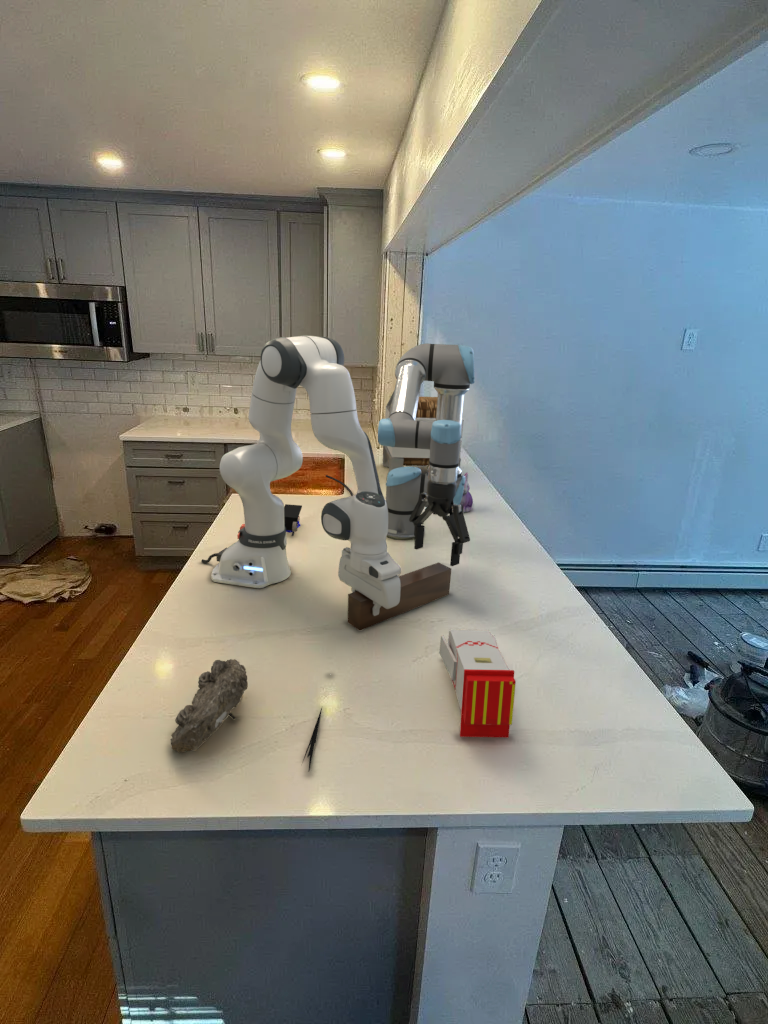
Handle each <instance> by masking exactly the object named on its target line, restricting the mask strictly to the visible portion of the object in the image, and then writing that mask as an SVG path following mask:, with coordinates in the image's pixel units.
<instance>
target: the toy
mask: <svg viewBox="0 0 768 1024" xmlns="http://www.w3.org/2000/svg"><path fill="white" fill-rule="evenodd" d="M438 654H439V656H440V658H441V660H442V662H443V665H444V666H445V668H446V671H447V673H448V675H449V677H450V681H451V683H452V685H453V689H454V690H455V695H456V698H457V702H458V705H459V708H460V726H459V737H460V738H509V737H510V728H511V727H510V726H512V725H513V717H514V706H515V705H514V704H515V693H516V684H517V683H516V679H515V670H514V669H510V667H509V666H508V663H507V662H506V660H505V658H504V655H503V654H502V652H501V650H500V648H499V644H498V642H497V638H496V635H495V634H492V632H491V631H490V629H467V628H466V629H465V628H463V629H461V628H460V629H459V628H450V629H449V631H448V641H447V639H446V638H445V636H444V634H443V635H442V634H441V635H440V641H439V651H438Z"/></svg>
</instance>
